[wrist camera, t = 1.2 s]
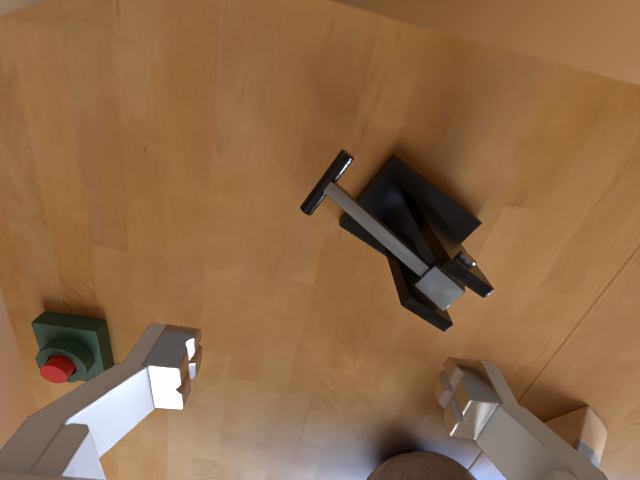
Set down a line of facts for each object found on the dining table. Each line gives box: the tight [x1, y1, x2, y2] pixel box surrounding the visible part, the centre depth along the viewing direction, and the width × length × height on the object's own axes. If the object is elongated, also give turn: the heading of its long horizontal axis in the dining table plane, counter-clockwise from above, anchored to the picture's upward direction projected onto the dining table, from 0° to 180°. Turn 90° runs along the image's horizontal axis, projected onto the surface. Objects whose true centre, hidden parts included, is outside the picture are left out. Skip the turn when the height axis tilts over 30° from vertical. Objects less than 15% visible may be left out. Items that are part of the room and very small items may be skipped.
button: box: [40, 355, 76, 383], centre depth 42 cm, size 3×3×2 cm
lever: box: [300, 149, 465, 311], centre depth 26 cm, size 14×6×2 cm, turn 55°
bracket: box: [339, 154, 494, 332], centre depth 30 cm, size 12×9×14 cm
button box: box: [32, 312, 114, 382], centre depth 44 cm, size 10×8×4 cm
